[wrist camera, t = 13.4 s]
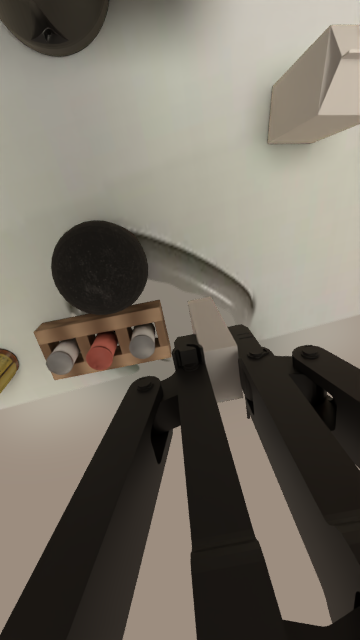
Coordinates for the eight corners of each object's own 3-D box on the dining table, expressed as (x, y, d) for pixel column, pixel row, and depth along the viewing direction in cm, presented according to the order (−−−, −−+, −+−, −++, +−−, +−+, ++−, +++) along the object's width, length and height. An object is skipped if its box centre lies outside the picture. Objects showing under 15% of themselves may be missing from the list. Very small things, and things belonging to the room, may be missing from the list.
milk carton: (312, 143, 43) (416, 102, 25) (266, 144, 43) (340, 102, 25) (320, 86, 40) (442, -5, 23) (271, 86, 40) (358, -7, 22)
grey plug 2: (136, 341, 53) (132, 361, 47) (130, 322, 51) (126, 339, 45) (157, 337, 53) (157, 356, 47) (152, 317, 51) (151, 333, 45)
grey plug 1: (64, 356, 53) (51, 376, 47) (57, 336, 52) (42, 355, 45) (86, 351, 53) (76, 372, 47) (79, 332, 52) (67, 350, 45)
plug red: (99, 351, 52) (90, 372, 46) (92, 331, 51) (82, 350, 44) (121, 347, 52) (115, 367, 46) (115, 327, 50) (108, 345, 44)
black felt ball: (146, 299, 51) (141, 334, 37) (72, 291, 49) (37, 325, 36) (153, 223, 46) (150, 231, 32) (71, 212, 44) (30, 215, 31)
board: (61, 368, 55) (54, 380, 51) (42, 323, 51) (33, 332, 48) (170, 346, 55) (171, 357, 51) (159, 299, 51) (159, 307, 47)
